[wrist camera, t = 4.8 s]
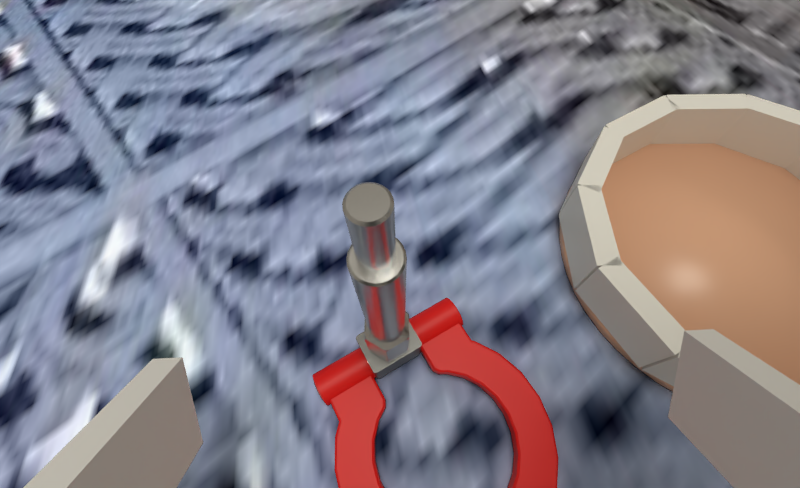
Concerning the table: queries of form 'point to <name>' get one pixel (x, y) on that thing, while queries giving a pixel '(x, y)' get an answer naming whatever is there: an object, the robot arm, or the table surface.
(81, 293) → the table surface
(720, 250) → the round tray
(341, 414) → the tow hook
